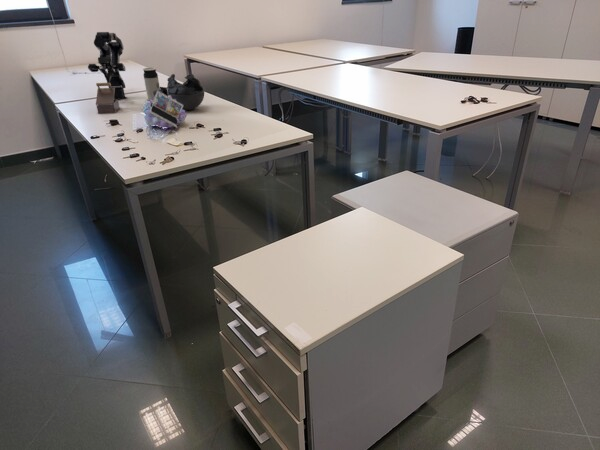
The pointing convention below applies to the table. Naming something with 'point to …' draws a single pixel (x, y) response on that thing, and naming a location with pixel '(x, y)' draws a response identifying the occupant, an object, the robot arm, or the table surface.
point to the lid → (105, 94)
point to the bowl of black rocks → (186, 91)
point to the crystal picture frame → (163, 111)
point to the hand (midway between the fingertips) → (108, 82)
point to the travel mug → (151, 82)
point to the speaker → (162, 89)
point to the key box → (108, 107)
